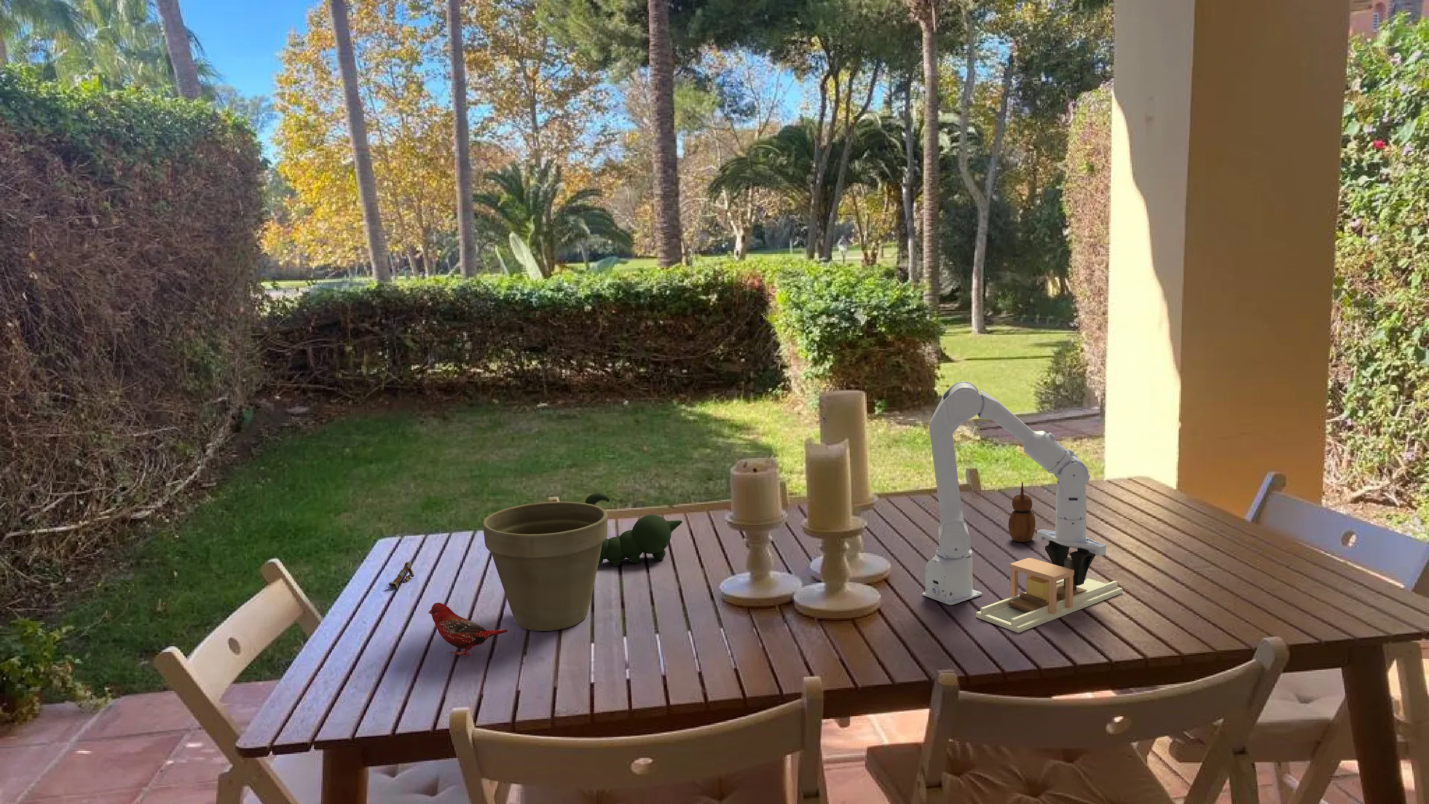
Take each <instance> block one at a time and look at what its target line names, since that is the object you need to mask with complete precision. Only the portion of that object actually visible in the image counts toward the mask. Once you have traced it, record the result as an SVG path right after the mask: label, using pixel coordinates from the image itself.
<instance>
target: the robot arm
mask: <svg viewBox="0 0 1429 804" xmlns="http://www.w3.org/2000/svg"><path fill="white" fill-rule="evenodd" d="M979 391H980V393H979ZM976 416H978V419H980V420H990V421H994V422H995V423H996V424H997V425H999V426H1000V427H1001V428H1003V429H1004V430H1005V431H1006V432H1007V433H1009V434H1011V435H1012V436H1013V437H1014V438H1016V439H1017V440H1019V441H1020V443H1022V444H1023V453H1024V454H1025V455H1027V456H1028V457H1029V458H1030V459H1032V460H1033V461H1034V462H1035V463H1037V464H1038V465H1039V466H1040V467H1041V468H1043V469H1044V470H1045V471H1047V472H1048V473H1049V474H1054V477H1055V478H1056V479H1057V480H1056V492H1055V523H1054V524H1055V526H1054V527H1055V529H1054V530H1049V529H1039V530H1037V533H1036V534H1037V535H1036V539H1037V541H1040V542H1041V541H1045V542H1048V544H1047V545H1045V546H1044V550H1045V552H1046V553H1047V555H1048V557H1049V559H1050V562H1051V564H1054V565H1057V566H1061V567H1064V558H1067V557H1069V554H1070V557H1071V558H1072V562H1073V567H1074V583H1075V585H1076V586H1079V585H1082V584H1084V581H1085V577H1086V578H1087V573H1088V570H1089V569H1090V566H1091V564H1092V562H1093V561H1094V559H1095V557H1096V556H1098V557H1102V556H1104V555H1107V553H1106V552H1107V545H1106V544H1104V543H1101V542H1098V541H1096V540H1094V539H1091V538H1089V537H1087V493H1086V490H1087V487H1086V486H1087V484H1088V482H1089V481H1090V478H1091V475H1090V474H1089V470H1088V467H1087V466H1086V465H1085V463H1084V462H1083V461H1082V459H1080V458H1079V457H1078V455H1076V454H1075V452H1074V451H1073V450H1072V449H1071V448H1069V449H1067V448H1066V447H1064V445H1062V444H1061V443H1059V442H1058V441H1057V440H1056V435H1054V433H1052V432H1048V433H1047V432H1046V431H1045V430H1037V431H1036V430H1033V429H1031V427H1029V426H1028V425H1027V424H1025V422H1023V421H1022V420H1021V419H1020V418H1019V417H1018V416H1016V415H1015V413H1013V412H1011V410H1009V409H1008V408H1007V407H1006V406H1005V405H1004V404H1002V403H1001V402H1000V401H999V400H998V399H996V398H995V397H993V396H991V395H990V394H989V393H987V392H986V391H984V390H982V389H979V390H978V388H977V386H976V385H975V384H973V383H972V382H969V381H966V380H964V381H958V382H955V383H954V384H953V385H951V386H950V387H949V388H948V389H947V390H946V391H945V392H944V393H943V394H942V396H941V400H940V402H939V403H938V405H937V406H936V408H935V411H934V412H933V415H932V416H931V418H930V419H929V420H930V421H928V422H929V423H928V428H929V436H930V444H931V450H932V451H931V453H932V460H933V467H934V476H935V482H936V484H935V485H936V492H937V498H938V499H937V500H938V507H939V515H940V521H939V523H938V526H937V534H938V547H937V548H936V550H935V555H934V556H933V557H932V558H931V559H929V560H928V561H927V562H926V564H925V568H924V581H925V583H924V585H925V586H924V588H925V591H924V592H921V593H922V596H924V597H927V598H930V599H932V600H935V601H938V602H940V603H943V604H945V605H949V606H953V605H956V604H958V603H962V602H964V601H968V600H971V599H974V598H976V597H979V596H980V597H981V596H982V595H983V592H982V591H978V590H975V589H974V588H973V585H974V584H973V550H972V549H971V546H972V539H971V536H970V533H969V532H970V531H969V530H970V529H969V525H968V523H967V522H966V520H965V519H964V515H963V514H964V513H963V507H962V498H961V491H960V485H959V475H958V467H957V459H956V451H955V442H954V433H955V432H956V431H957V429H958V428H959V427H960V426H961V425H962V424H963V423H964V422H967V421H968V420H971V419H972V418H975V417H976ZM1070 548H1072V549H1076V550H1074V551H1072V552H1070V553H1069V551H1070Z"/></svg>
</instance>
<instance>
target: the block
mask: <svg viewBox="0 0 1429 804" xmlns="http://www.w3.org/2000/svg"><path fill="white" fill-rule="evenodd" d="M1025 586H1026V587H1025V592H1026V594H1029V595H1032V596H1035V597H1038V598H1041V599H1044V600H1046V602H1049V580H1045V579H1042V578H1039V577H1035V576H1032V577H1029V578H1027V577H1026V578H1025Z"/></svg>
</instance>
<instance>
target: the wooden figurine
mask: <svg viewBox="0 0 1429 804" xmlns="http://www.w3.org/2000/svg"><path fill="white" fill-rule="evenodd" d="M1020 487H1021V488H1020V492H1019V493H1020V494H1016V495H1014V496H1013V498H1012V501H1011V507H1012V509H1013V511H1012V512H1011V513H1010V515H1009V518H1008V522H1007V523H1008V530H1009V531H1008V532H1009V535H1010V537H1011V539H1012V540H1013V541H1015V542H1018V543H1027V542H1030V541H1032V539H1033V537H1034V536H1035V535H1034V534H1035V531H1036V521H1037V520H1036V516H1035V513H1034V512H1033V511H1032V509H1033V508H1032V507H1033V499H1032V498H1031V496H1030V495H1026V494H1025V492H1024V482H1023V481H1022V482H1021V486H1020Z"/></svg>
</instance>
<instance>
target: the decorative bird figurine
mask: <svg viewBox="0 0 1429 804" xmlns="http://www.w3.org/2000/svg"><path fill="white" fill-rule="evenodd" d="M428 614H430V615H431V618H432V621H433V622H434V625H435V627H436V630H437V632H438V634H439V636H441V638H442V639H443V640H444V641H445V642H446V643H448V644H449V645H451V646H453V647H454V648H456V649H461V650H462V649H463V650H462V651H449V653H451V654H454V655H456V656H458V655H460V656H464V657H465V656H466V657H470V656H471V657H473V654H472V653H470V652H469V651H470V650H471V649H472V648H474V647H478V646H481V645H483V644H484V643H485V642H486V641H487V640H488V639H490V638H491V637H494V636H497V635H501V634H505V633H507V632H509V629H491V630H487V629H486V628H485V627H483V626H481V625H480V624H479V623H477V622H474V621H472V620H470V619H467V618H466V617H465V618H464V617H462V616H460V615H458V614H456V613H455V612H454V611H453V610H452V609H451V608H450V607H449V606H447V605H446V604H444V603H442V602H435V603H433V605H432V606H431V608H430V610H429V611H428Z"/></svg>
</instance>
